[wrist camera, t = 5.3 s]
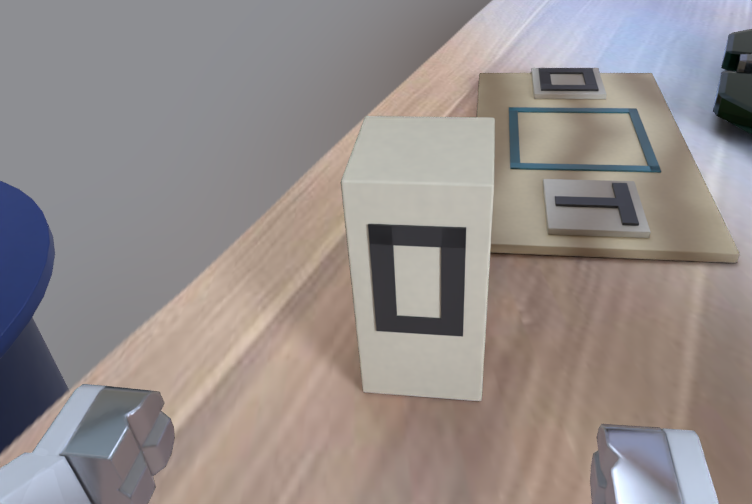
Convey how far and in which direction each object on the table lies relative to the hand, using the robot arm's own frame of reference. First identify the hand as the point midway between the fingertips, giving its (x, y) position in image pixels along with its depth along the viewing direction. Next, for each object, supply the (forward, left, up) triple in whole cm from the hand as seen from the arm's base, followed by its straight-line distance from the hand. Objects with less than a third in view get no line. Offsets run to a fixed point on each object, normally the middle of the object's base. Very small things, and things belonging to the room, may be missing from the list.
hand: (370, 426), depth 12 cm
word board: (+8, +31, -11) cm, 34 cm away
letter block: (0, +12, -11) cm, 16 cm away
